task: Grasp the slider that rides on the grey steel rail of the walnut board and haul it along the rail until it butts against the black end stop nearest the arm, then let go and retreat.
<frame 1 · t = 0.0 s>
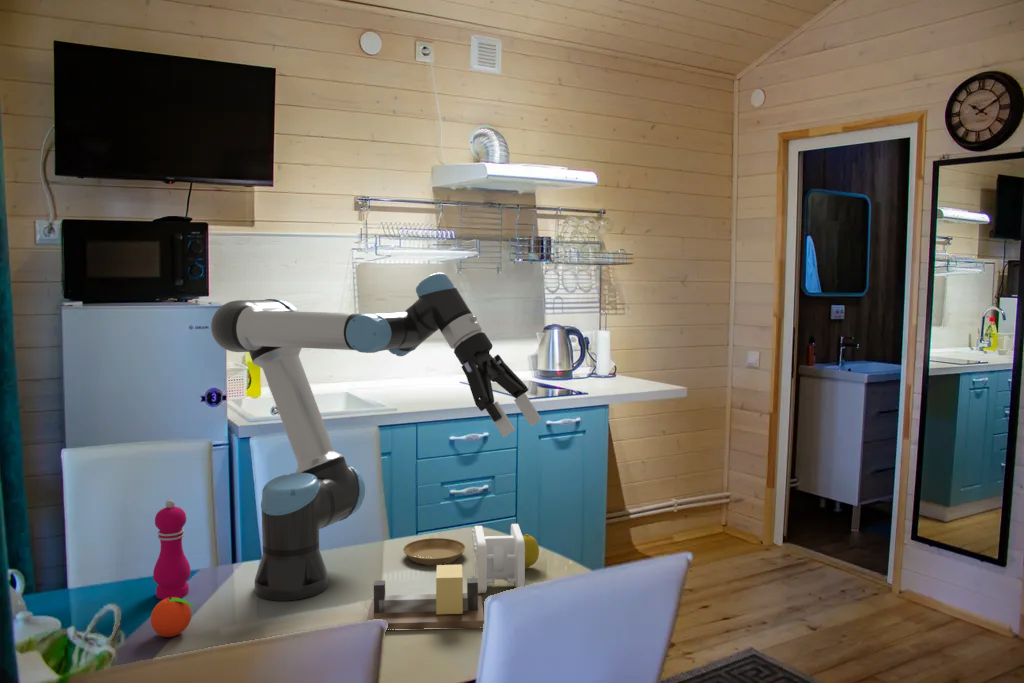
hand: (523, 428, 160), 36 cm above the table, tool tilted 35°, fingers open, 13 cm apart
slider: (449, 588, 155), point 5 cm above the table, slide at 0.0 cm
rail board: (426, 616, 155), on the table
cable organizer: (497, 585, 172), on the table
lemon: (526, 569, 182), on the table
pepper mill: (172, 595, 166), on the table
clementine: (174, 636, 147), on the table
plant saucer: (434, 559, 189), on the table
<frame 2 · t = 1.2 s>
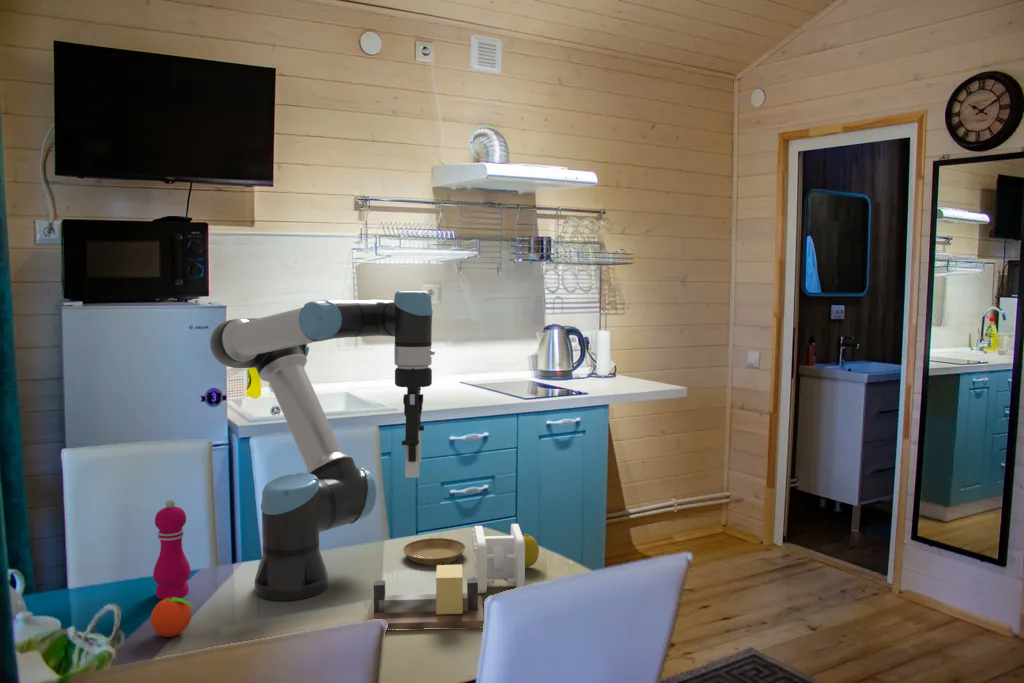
hand: (413, 469, 164), 27 cm above the table, tool pointing down, fingers open, 13 cm apart
nothing on the table moved.
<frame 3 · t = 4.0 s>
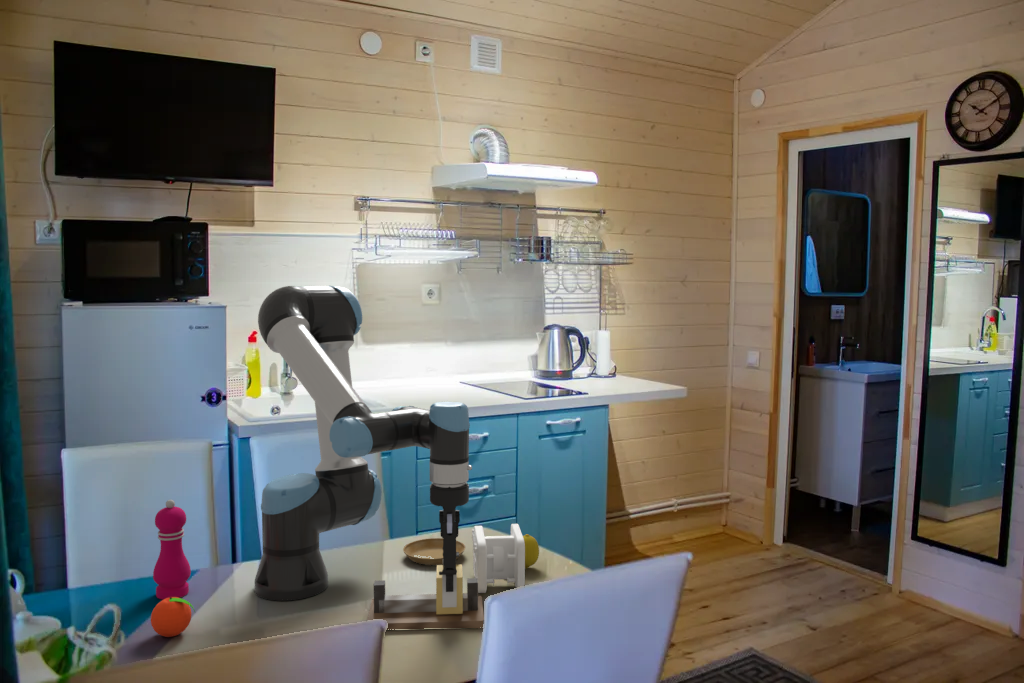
hand: (449, 598, 155), 4 cm above the table, tool pointing down, fingers closed on slider, 7 cm apart
slider: (449, 588, 155), point 5 cm above the table, slide at 0.0 cm, touching gripper
everything else where it was.
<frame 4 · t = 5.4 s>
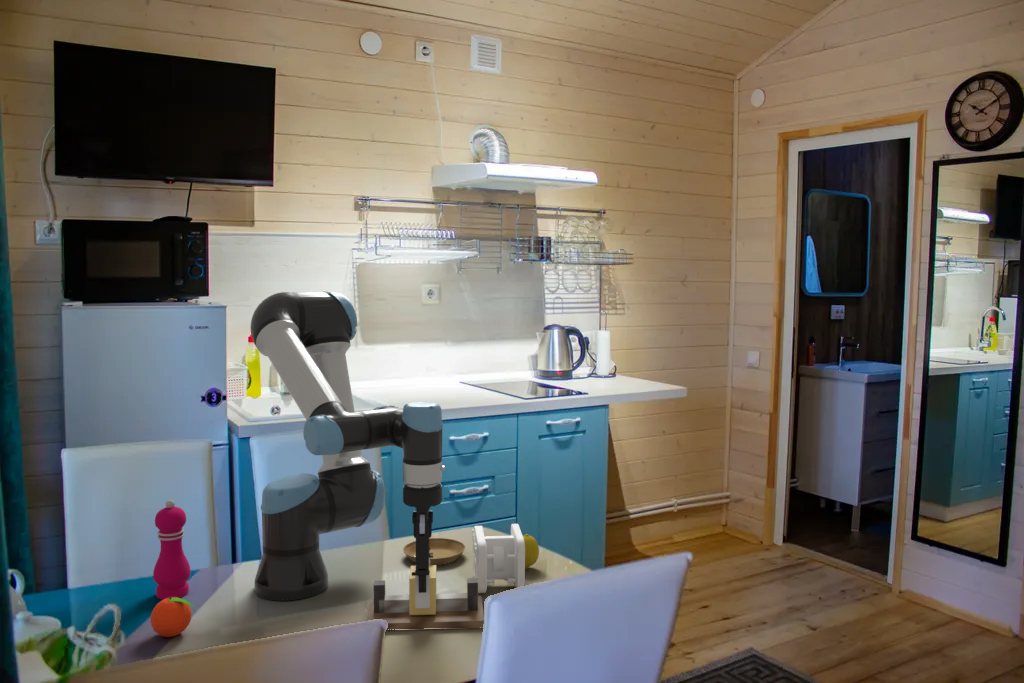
hand: (422, 599, 155), 4 cm above the table, tool pointing down, fingers closed on slider, 7 cm apart
slider: (423, 589, 155), point 5 cm above the table, slide at 5.1 cm, touching gripper
everything else where it was.
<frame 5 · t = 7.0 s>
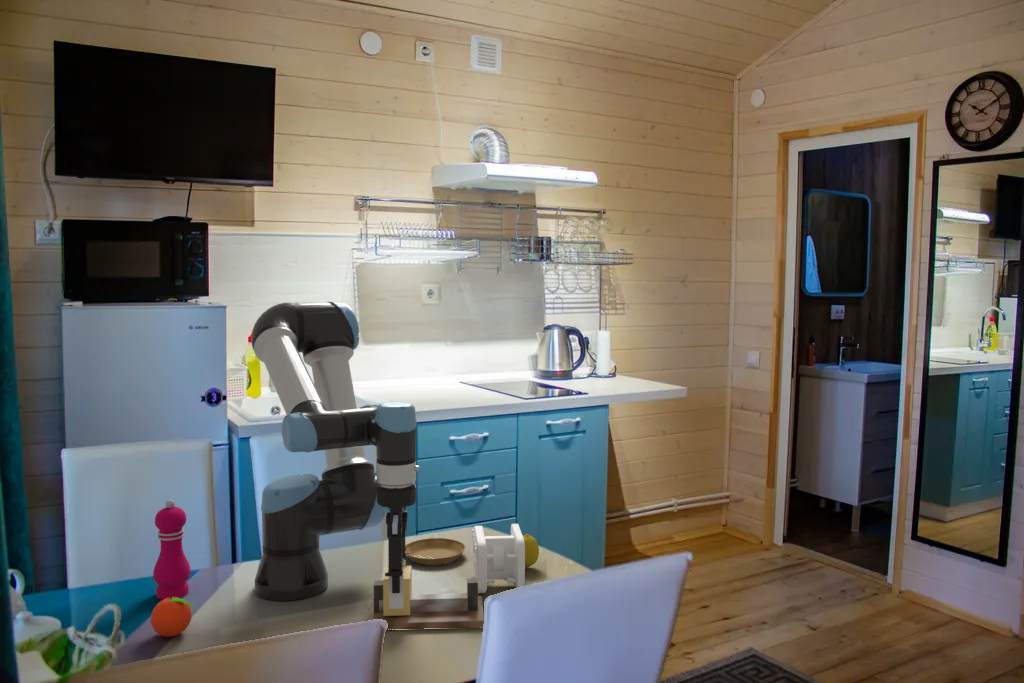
hand: (397, 599, 155), 4 cm above the table, tool pointing down, fingers closed on slider, 7 cm apart
slider: (397, 590, 154), point 5 cm above the table, slide at 10.0 cm, touching gripper, rail board
everything else where it was.
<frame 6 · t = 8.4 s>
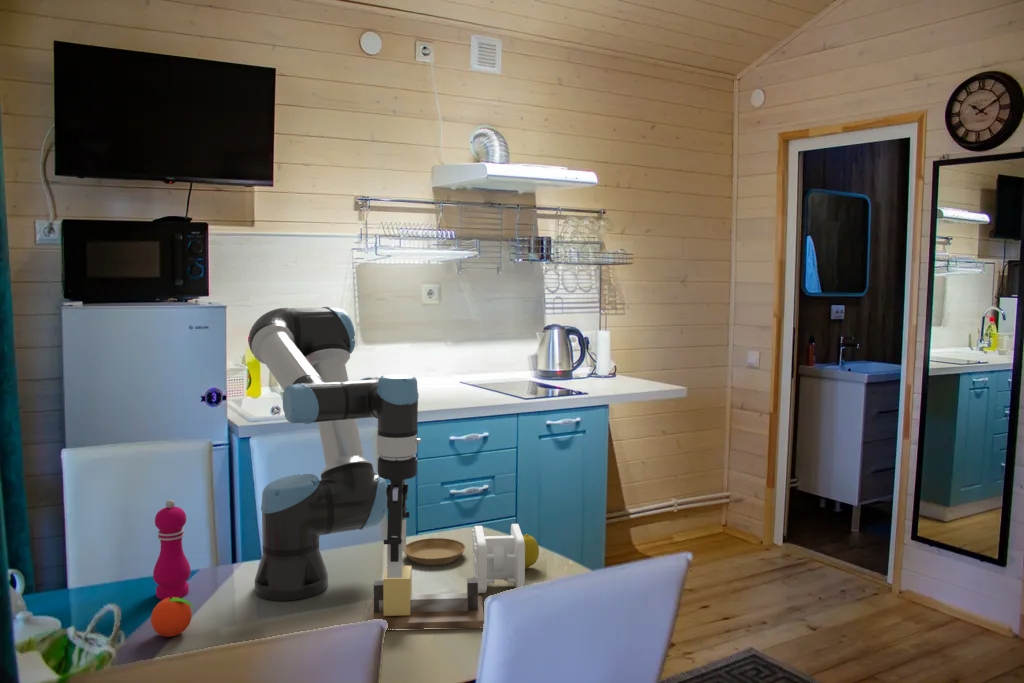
hand: (397, 563, 155), 11 cm above the table, tool pointing down, fingers open, 13 cm apart
slider: (397, 590, 154), point 5 cm above the table, slide at 10.0 cm
everything else where it was.
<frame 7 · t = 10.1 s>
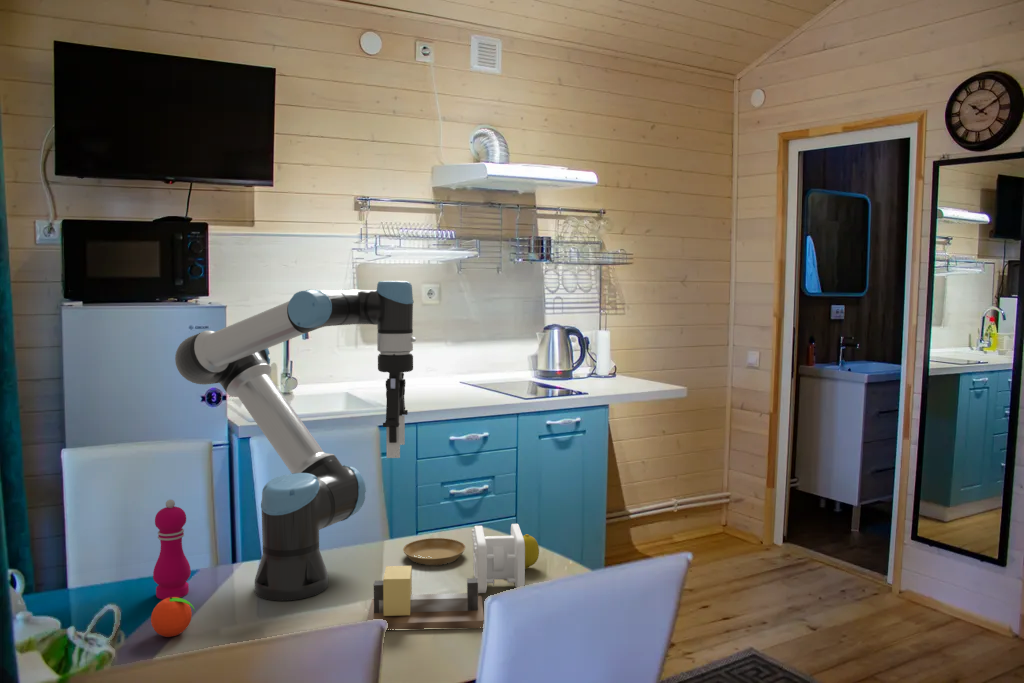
hand: (396, 450, 172), 29 cm above the table, tool pointing down, fingers open, 13 cm apart
nothing on the table moved.
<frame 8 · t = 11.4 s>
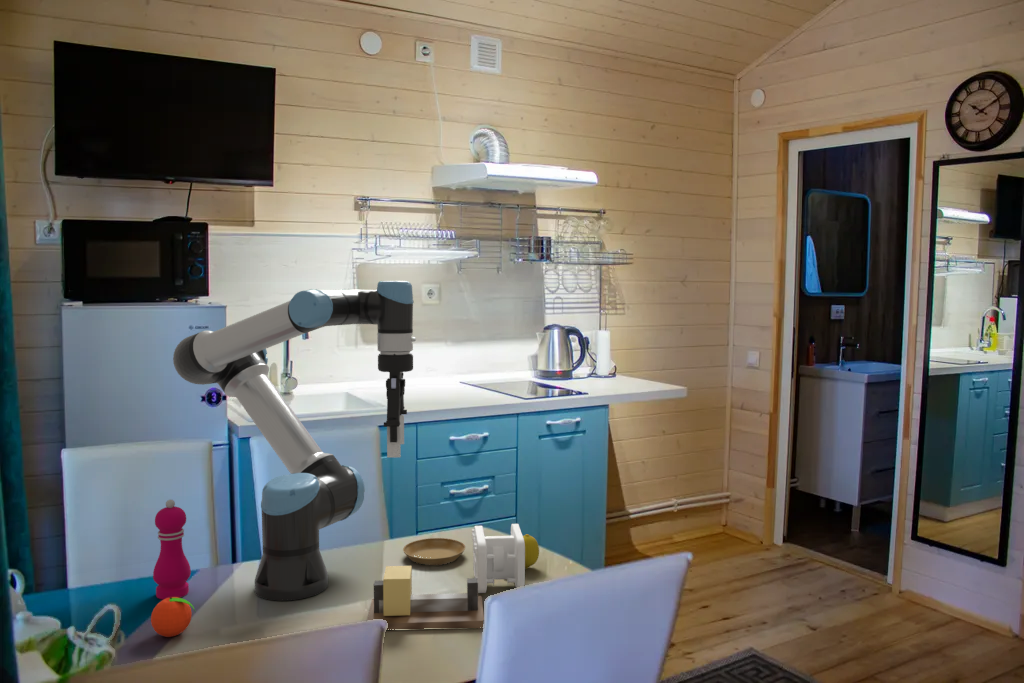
hand: (396, 450, 173), 29 cm above the table, tool pointing down, fingers open, 13 cm apart
nothing on the table moved.
at the end: slider slide at 10.0 cm; the gripper is holding nothing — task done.
